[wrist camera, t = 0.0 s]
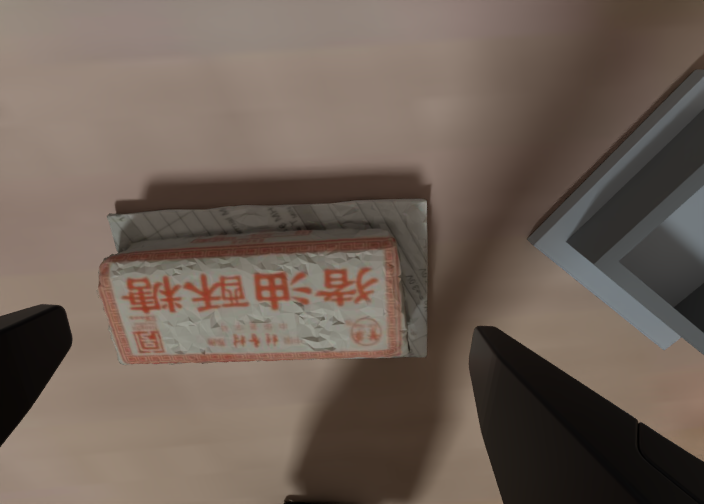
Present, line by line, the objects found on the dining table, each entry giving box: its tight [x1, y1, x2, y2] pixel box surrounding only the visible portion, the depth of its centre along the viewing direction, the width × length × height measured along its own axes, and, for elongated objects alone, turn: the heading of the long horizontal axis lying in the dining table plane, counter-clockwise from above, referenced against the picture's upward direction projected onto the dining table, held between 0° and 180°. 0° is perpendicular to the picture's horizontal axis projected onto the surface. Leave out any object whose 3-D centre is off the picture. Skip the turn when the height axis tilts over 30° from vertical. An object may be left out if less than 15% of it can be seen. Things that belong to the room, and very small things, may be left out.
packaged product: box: [96, 199, 428, 365], centre depth 23 cm, size 18×5×10 cm
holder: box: [527, 69, 704, 355], centre depth 21 cm, size 11×11×4 cm
